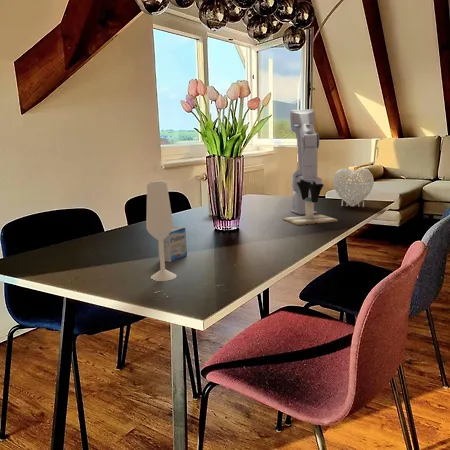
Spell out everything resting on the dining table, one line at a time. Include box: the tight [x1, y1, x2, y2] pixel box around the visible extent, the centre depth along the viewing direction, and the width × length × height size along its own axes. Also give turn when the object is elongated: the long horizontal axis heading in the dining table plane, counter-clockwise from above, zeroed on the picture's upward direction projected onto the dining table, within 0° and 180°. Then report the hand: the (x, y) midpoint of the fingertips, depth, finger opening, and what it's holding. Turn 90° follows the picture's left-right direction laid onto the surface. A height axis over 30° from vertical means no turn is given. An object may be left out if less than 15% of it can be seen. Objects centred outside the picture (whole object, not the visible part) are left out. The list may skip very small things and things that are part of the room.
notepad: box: [282, 213, 339, 226], centre depth 177 cm, size 13×17×1 cm
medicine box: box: [157, 226, 188, 263], centre depth 131 cm, size 8×4×9 cm, turn 148°
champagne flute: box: [145, 181, 177, 282], centre depth 112 cm, size 7×7×24 cm
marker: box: [305, 198, 315, 219], centre depth 176 cm, size 3×3×8 cm
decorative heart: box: [333, 167, 375, 208], centre depth 203 cm, size 18×11×17 cm, turn 54°
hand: (309, 200), depth 176 cm, fingers open, 7 cm apart
